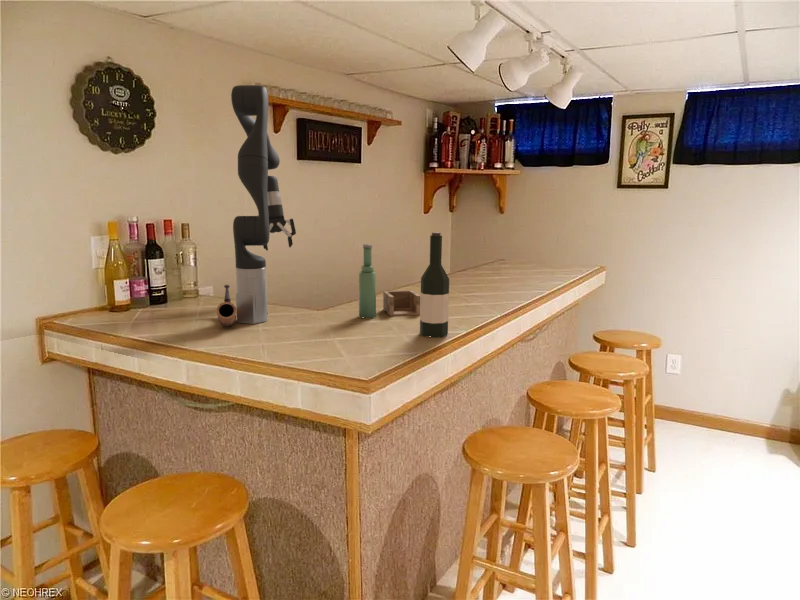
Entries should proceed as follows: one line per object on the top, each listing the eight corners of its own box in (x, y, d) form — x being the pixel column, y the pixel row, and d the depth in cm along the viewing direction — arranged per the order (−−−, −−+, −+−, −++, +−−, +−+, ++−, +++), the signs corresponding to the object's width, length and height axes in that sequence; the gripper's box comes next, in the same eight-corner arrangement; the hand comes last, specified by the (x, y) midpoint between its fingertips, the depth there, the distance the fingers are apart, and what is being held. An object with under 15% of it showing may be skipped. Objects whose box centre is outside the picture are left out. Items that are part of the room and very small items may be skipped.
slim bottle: (372, 319, 194) (373, 245, 190) (356, 317, 196) (356, 245, 191) (377, 315, 200) (378, 244, 195) (362, 314, 201) (362, 243, 197)
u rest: (420, 314, 201) (420, 295, 200) (390, 316, 199) (390, 296, 197) (411, 308, 211) (412, 290, 210) (383, 309, 209) (383, 291, 207)
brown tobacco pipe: (217, 334, 172) (216, 300, 170) (219, 313, 200) (218, 284, 198) (237, 333, 174) (235, 300, 172) (236, 312, 202) (235, 283, 200)
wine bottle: (445, 338, 171) (448, 234, 165) (417, 336, 173) (419, 233, 167) (449, 331, 179) (452, 231, 173) (422, 329, 181) (424, 231, 175)
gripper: (252, 206, 214) (259, 251, 215) (291, 201, 217) (298, 245, 219) (251, 208, 221) (258, 251, 222) (290, 204, 224) (296, 246, 226)
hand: (278, 248), depth 220 cm, fingers open, 8 cm apart
